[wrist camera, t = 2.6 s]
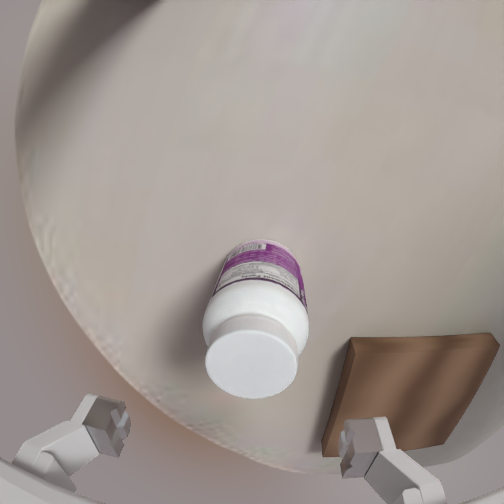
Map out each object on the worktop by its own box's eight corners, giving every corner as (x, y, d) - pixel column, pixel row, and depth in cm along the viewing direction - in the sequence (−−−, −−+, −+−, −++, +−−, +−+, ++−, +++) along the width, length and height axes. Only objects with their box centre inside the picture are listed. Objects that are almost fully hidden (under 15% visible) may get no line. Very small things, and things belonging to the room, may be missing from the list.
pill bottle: (285, 316, 23) (284, 420, 14) (214, 293, 23) (178, 390, 14) (313, 251, 21) (335, 340, 12) (236, 224, 21) (204, 299, 12)
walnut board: (490, 332, 23) (500, 345, 21) (438, 431, 28) (443, 444, 26) (350, 337, 23) (355, 353, 22) (321, 442, 29) (322, 457, 27)
